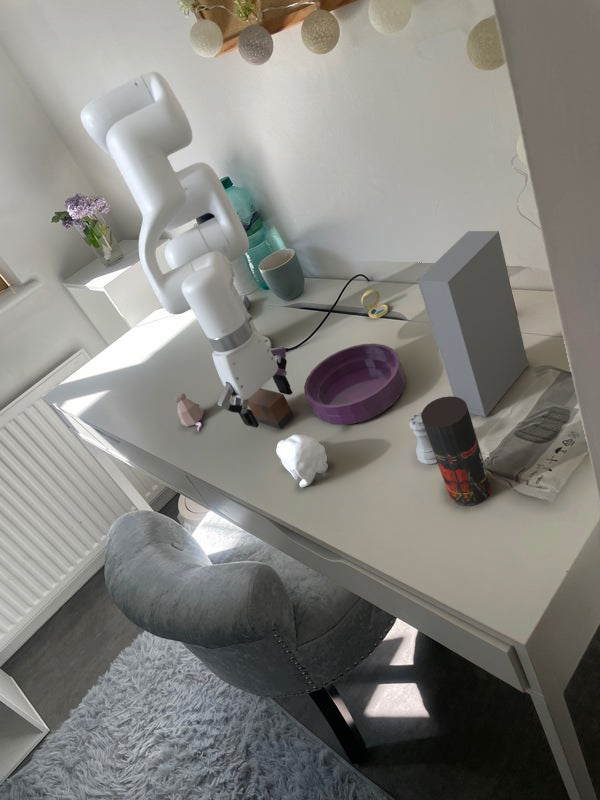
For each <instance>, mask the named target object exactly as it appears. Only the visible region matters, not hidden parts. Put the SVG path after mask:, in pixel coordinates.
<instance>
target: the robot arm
mask: <svg viewBox="0 0 600 800" xmlns="http://www.w3.org/2000/svg"><path fill="white" fill-rule="evenodd" d="M80 122H81V123H82V126H83V129H84V130H85V131H86V133H87V135H89V136H90V138H91V139H92V140H93V141H94V142H95V143H96V144H97V146H99V148H101V149H102V150H103V152H105V153H106V154H107V155H108V156H109V157H111V159H113V162H115V165H116V167H117V168H118V170H119V172H120V174H121V177H122V178H123V180H124V181H125V184H126V186H127V188H128V189H129V191H130V194H131V195H132V197H133V198H134V201H135V203H136V206H138V209H139V211H140V213H141V215H142V222H141V226H140V227H141V228H140V232H139V236H138V255H139V256H138V257H139V262H140V264H141V267H142V271H143V272H144V275H145V276H146V279H147V280H148V282H149V284H150V286H151V288H152V290H153V292H154V294H155V295H156V298H157V300H158V301H159V303H160V304H161V306H162V307H163V309H164V310H165V311H166V312H168V313H169V314H171V315H181V314H184V313H186V312H188V311H190V310H192V312H193V314H194V316H195V318H196V320H197V321H198V323H199V325H200V327H201V329H202V330H203V332H204V334H205V336H206V337H207V339H208V341H209V342H210V345H211V347H212V348H213V352H212V353H211V357H212V360H213V363H214V367H215V369H216V372H217V374H218V376H219V379H220V381H221V383H222V385H223V390H222V392H221V395H220V396H219V399H218V401H217V406H218V407H220V408H222V410H223V409H224V410H226V411H228V412H231V413H237V414H238V415H239V417H240V419H241V420H242V422H243V424H244V425H245V426H248V427H251V428H256V429H257V428H259V424H260V423H259V422H257V420H256V418H255V416H254V415H253V413H252V411H251V409H250V408H249V406H248V399H249V398H250V397H251V396H252V395H254V394H255V393H256V392H257V391H258V390H259V389H260V388H261V389H262V387H264V386H265V385H266V384H267V383H268V382H269V381H270V380H271V379H272V380H273V382H274V383H275V386H276V388H277V389H278V393H281V394H283V395H287V396H291V395H292V394H293V390H292V388H291V384H290V382H289V380H288V378H287V373H288V372H287V370H286V369H287V363H288V361H287V359H286V358H287V354H286V353H287V351H286V348H285V347H283V346H276V347H272V342H271V340H270V338H268V337H267V336H266V335H265V336H264V335H260V333H259V331H258V329H257V327H256V325H255V323H254V321H253V316H252V315H251V314H250V313H249V311H248V310H247V309H246V307H245V305H244V303H243V301H242V299H241V297H240V296H241V295H240V294H239V292H238V289H237V288H236V285H235V284H234V278H235V270H234V266H233V264H232V262H233V261H235V260H237V259H239V258H241V257H243V256H244V255H245V254H246V253H247V252H248V251H249V249H250V241H249V240H250V239H249V236H248V235H247V232H246V230H245V227H244V225H243V223H242V221H241V219H240V217H239V216H238V213H237V212H236V209H235V207H234V205H233V204H232V200H231V199H230V197H229V195H228V193H227V191H226V189H225V187H224V185H223V183H222V181H221V180H220V178H219V176H218V174H217V173H216V171H215V170H214V169H213V168H212V166H211V165H209V164H208V163H205V162H195V163H193V164H191V165H188V166H187V167H184V168H182V169H180V170H178V171H176V170H174V168H173V166H172V164H171V162H170V160H169V158H168V157H170V155H173V154H175V153H177V152H179V151H181V150H182V149H185V148H187V147H188V146H190V145H191V143H192V141H193V131H192V127H191V124H190V121H189V119H188V116H187V114H186V112H185V110H184V108H183V107H182V104H181V102H180V101H179V100H178V97H177V96H176V94H175V92H174V91H173V89H172V87H171V86H170V84H169V82H168V81H167V79H166V78H165V77H164V76H163V74H160V73H159V72H158V71H149V72H145V73H143V74H141V75H139V76H137V77H135V78H133V79H131V80H129V81H127V82H125V83H123V84H122V85H119V86H117V87H114V88H112V89H110V90H108V91H106V92H104V93H102V94H100V95H99V96H97V97H95V98H93V99H92V100H90V101H89V102H88V103H87V104H85V105H84V107H83V108H82V110H81V112H80ZM206 214H212V215H213V216H214V217H212V218H210V219H208V220H206V221H204V222H202V223H200V224H198V225H195V226H194V227H191V228H190V229H188V230H185V231H183V232H182V233H179V234H177V235H176V236H174V237H173V238H172V239H170V240H169V241H168V243H167V244H166V246H165V247H164V254H163V255H164V259H165V262H166V263H167V266H168V267H169V268H170V270H169V271H167V272H165V273H163V272H162V270H161V268H160V266H159V262H158V259H157V247H158V242H159V240H160V238H161V236H162V234H163V232H164V231H171V230H174V229H178V228H180V227H182V226H184V225H186V224H188V223H190V222H192V221H194V220H196V219H198V218H200V217H201V216H204V215H206ZM275 356H276V358H275ZM231 398H233V404H232V403H230V399H231Z"/></svg>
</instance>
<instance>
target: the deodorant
mask: <svg viewBox="0 0 600 800" xmlns="http://www.w3.org/2000/svg"><path fill="white" fill-rule="evenodd" d="M421 413H422V414H421V418H422V421H423V424H424V427H425V430H426V432H427V435H428V438H429V441H430V443H431V446H432V449H433V452H434V455H435V457H436V460H437V463H436V464H437V465H438V468H439V471H440V474H441V476H442V480H443V482H444V485H445V488H446V491H447V493H448V496H449V498H450V500H451V501H452V502H453V503H455V504H456V505H458V506H462V507H473V506H476V505H479V504H482V503H483V502H484V501H485V500H487V499H488V498H489V497H490V494H491V493H492V484H491V480H490V477H489V474H488V471H487V467H486V464H485V461H484V458H483V454H482V450H481V448H480V444H479V441H478V438H477V434H476V430H475V428H474V424H473V420H472V417H471V413H469V411H468V407H467V404H466V402H465V401H464V400H462V399H461V398H458V397H454V396H452V395H451V396H443V397H439V398H436V399H434V400H432V401H430V402H429V403H428V404H426V405H425V407H424V408H423V410H422V411H421Z"/></svg>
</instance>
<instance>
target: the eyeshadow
mask: <svg viewBox="0 0 600 800" xmlns="http://www.w3.org/2000/svg"><path fill="white" fill-rule="evenodd" d="M380 299H381V295H380V293H379V291H378V290H376V289H368V290H367V291H365V292H364V293H363V295H362V296H361V299H360V302H361V305H362V306H363V307H364V308H365V309H369V310H368V313H367V314H368V317H369V318H371V319H379V318H381V317H384V316H385V315H386V314H387V313H388V312H389V307H388V305H387V304H384V303H382V304H379V302H380Z"/></svg>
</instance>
